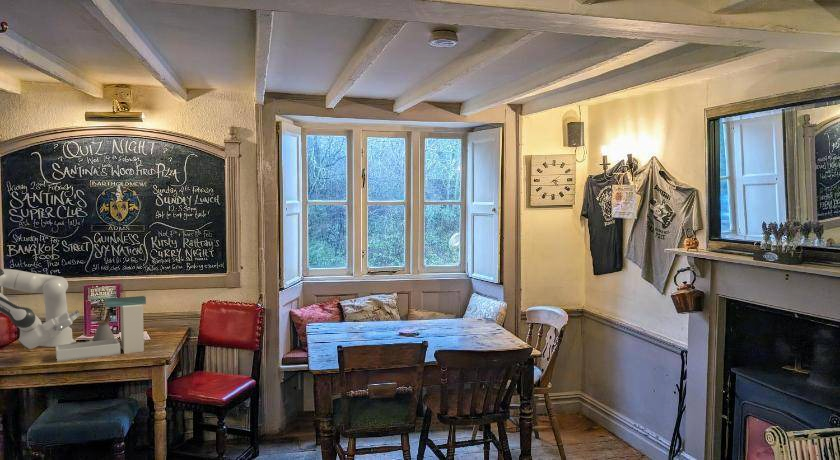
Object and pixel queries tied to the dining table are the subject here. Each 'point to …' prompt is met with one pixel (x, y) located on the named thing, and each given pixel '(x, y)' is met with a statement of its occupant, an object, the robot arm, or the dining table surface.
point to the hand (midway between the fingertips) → (78, 312)
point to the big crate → (87, 350)
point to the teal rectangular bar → (125, 301)
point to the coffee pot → (103, 330)
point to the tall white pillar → (132, 328)
